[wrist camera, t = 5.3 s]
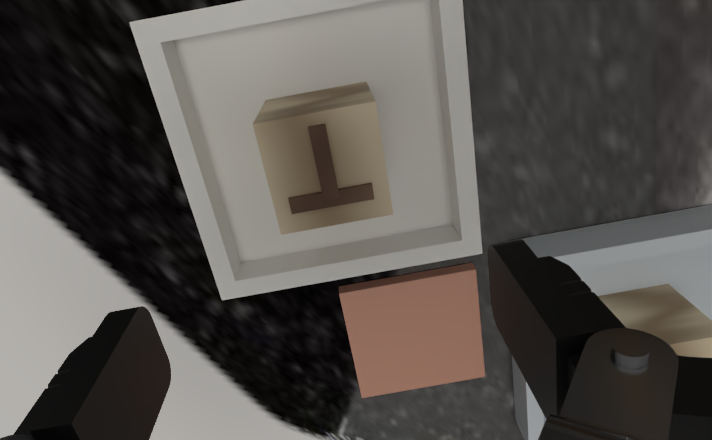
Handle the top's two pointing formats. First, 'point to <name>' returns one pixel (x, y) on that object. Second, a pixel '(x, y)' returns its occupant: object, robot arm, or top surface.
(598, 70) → the top surface
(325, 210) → the letter cube
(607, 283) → the blue tray
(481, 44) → the top surface
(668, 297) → the plain cube
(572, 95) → the top surface
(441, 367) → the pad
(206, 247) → the white tray
